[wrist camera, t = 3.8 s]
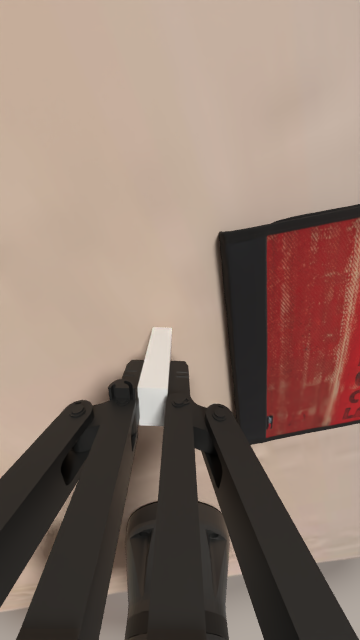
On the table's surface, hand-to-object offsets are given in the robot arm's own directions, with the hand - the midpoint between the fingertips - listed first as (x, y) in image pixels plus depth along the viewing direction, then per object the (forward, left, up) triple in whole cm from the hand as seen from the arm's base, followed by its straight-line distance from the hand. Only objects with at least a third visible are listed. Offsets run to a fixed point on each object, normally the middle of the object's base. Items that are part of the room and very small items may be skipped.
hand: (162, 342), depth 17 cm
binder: (0, -14, -2) cm, 14 cm away
